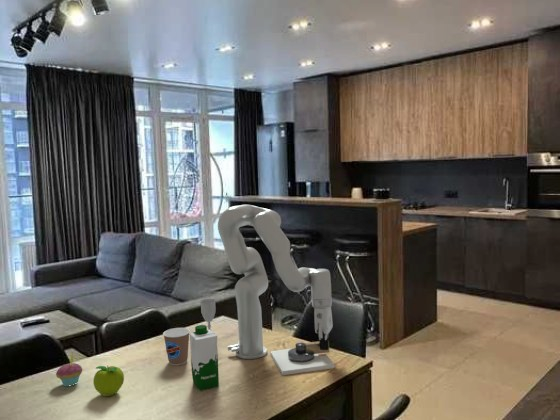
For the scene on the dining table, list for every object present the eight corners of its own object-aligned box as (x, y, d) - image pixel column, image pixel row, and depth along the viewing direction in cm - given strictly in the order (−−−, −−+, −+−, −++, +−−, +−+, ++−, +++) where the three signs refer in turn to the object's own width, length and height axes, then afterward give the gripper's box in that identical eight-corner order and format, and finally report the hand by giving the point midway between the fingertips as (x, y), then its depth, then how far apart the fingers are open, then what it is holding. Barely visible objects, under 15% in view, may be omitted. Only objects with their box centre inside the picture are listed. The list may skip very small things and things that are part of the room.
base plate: (282, 375, 169) (281, 370, 169) (270, 354, 189) (270, 350, 188) (334, 368, 174) (334, 363, 174) (318, 348, 193) (318, 344, 193)
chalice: (219, 338, 210) (217, 298, 209) (216, 343, 203) (214, 302, 202) (203, 338, 211) (201, 298, 209) (199, 344, 204) (197, 303, 203)
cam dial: (291, 363, 175) (290, 350, 175) (285, 353, 185) (285, 341, 185) (332, 358, 178) (332, 345, 178) (324, 349, 188) (324, 337, 188)
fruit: (107, 403, 153) (105, 373, 153) (89, 396, 158) (87, 367, 158) (130, 391, 161) (128, 363, 160) (112, 385, 166) (110, 358, 165)
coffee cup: (159, 365, 183) (157, 335, 182) (174, 355, 192) (173, 326, 191) (181, 368, 179) (180, 337, 178) (196, 358, 188) (194, 328, 187)
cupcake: (88, 380, 172) (86, 348, 171) (71, 390, 164) (68, 357, 163) (69, 377, 175) (67, 346, 174) (51, 387, 166) (48, 354, 166)
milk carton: (213, 377, 170) (210, 322, 169) (222, 386, 162) (219, 329, 161) (189, 382, 166) (186, 327, 165) (197, 392, 158) (194, 334, 157)
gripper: (327, 307, 170) (330, 357, 171) (335, 296, 184) (337, 342, 186) (307, 307, 172) (309, 356, 174) (316, 296, 187) (319, 341, 188)
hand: (324, 349), depth 180 cm, fingers closed
